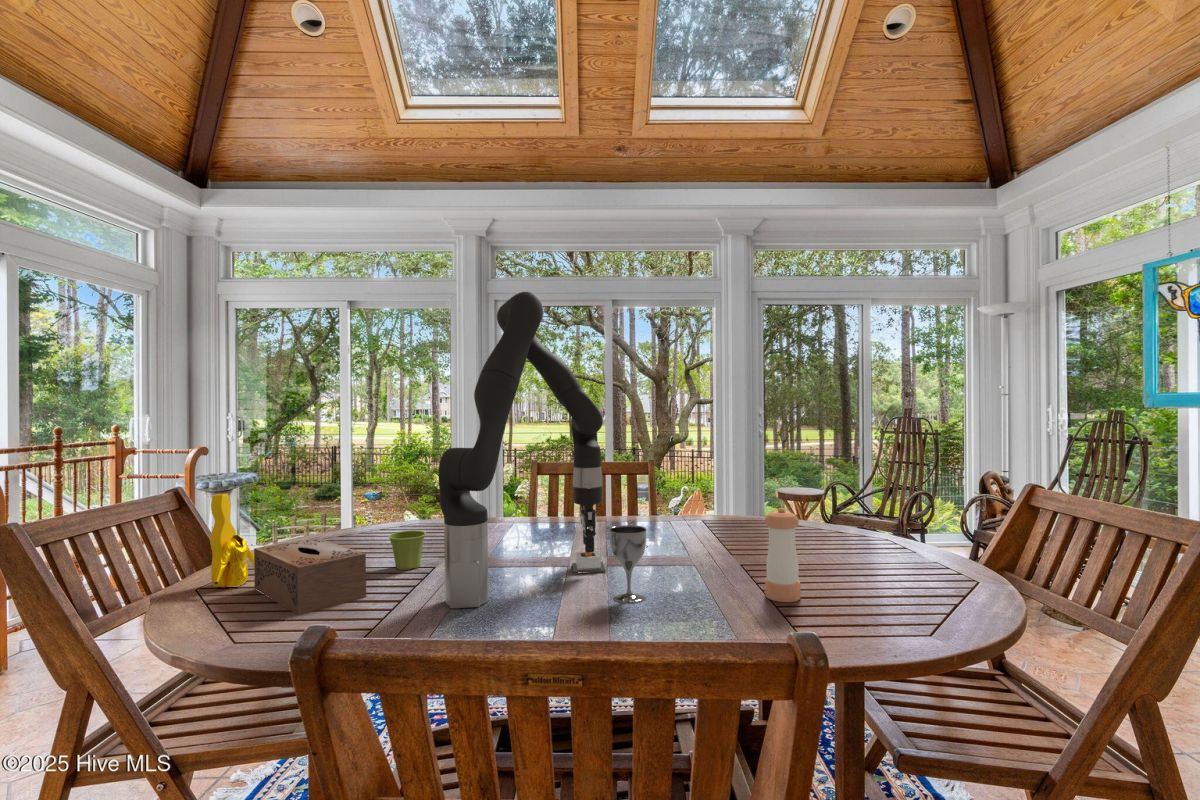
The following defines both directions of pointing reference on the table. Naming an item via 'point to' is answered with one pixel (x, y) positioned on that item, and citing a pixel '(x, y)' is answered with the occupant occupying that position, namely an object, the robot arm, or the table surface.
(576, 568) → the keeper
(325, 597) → the tissue box cover
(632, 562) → the wine glass
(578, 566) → the grey square block
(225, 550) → the figure statuette
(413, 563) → the plant pot
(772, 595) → the pepper shaker
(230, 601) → the table surface
